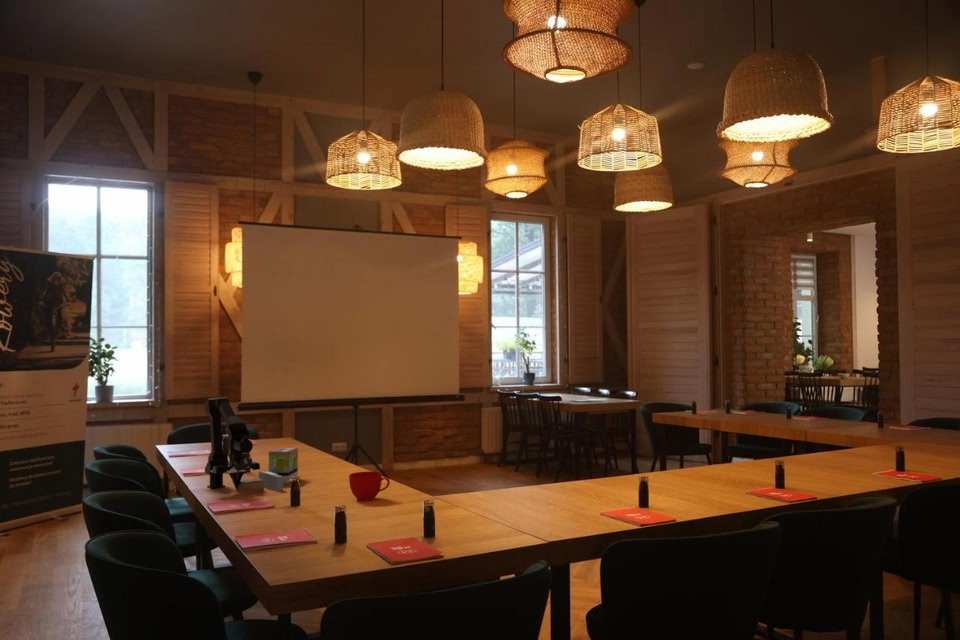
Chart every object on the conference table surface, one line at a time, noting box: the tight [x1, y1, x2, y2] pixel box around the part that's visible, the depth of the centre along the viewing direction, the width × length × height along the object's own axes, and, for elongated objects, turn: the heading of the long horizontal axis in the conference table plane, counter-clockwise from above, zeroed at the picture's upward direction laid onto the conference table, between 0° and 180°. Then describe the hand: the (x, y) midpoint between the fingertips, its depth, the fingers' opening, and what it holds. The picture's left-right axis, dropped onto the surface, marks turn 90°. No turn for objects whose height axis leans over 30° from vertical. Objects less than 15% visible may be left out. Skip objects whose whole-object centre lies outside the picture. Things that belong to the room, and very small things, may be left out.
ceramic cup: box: [348, 471, 391, 502], centre depth 303 cm, size 13×17×10 cm
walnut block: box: [235, 477, 265, 495], centre depth 329 cm, size 9×9×5 cm
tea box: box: [268, 447, 299, 484], centre depth 354 cm, size 15×10×15 cm, turn 179°
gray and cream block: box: [258, 470, 284, 492], centre depth 337 cm, size 22×3×6 cm, turn 37°
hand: (236, 488), depth 324 cm, fingers closed
